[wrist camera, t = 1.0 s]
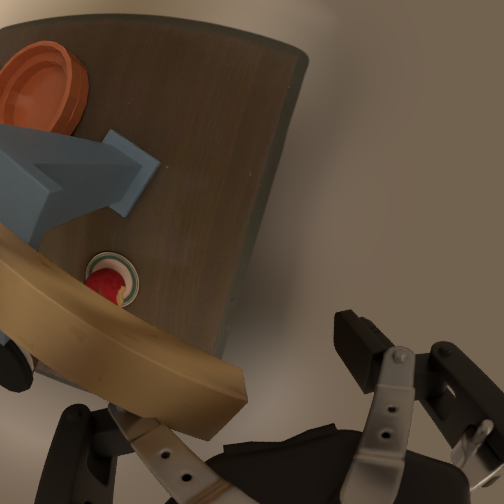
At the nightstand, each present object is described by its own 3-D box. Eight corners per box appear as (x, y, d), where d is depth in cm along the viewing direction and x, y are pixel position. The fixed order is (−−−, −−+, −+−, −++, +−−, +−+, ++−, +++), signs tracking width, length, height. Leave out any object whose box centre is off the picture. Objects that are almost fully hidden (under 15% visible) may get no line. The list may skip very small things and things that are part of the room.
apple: (122, 241, 34) (105, 255, 28) (150, 293, 37) (140, 316, 31) (78, 265, 34) (57, 282, 28) (105, 313, 37) (90, 336, 30)
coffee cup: (9, 332, 35) (-24, 368, 23) (14, 283, 33) (-28, 316, 22) (56, 362, 38) (29, 406, 26) (64, 317, 36) (29, 360, 24)
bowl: (31, 52, 24) (12, 40, 18) (109, 60, 27) (93, 44, 22) (-5, 147, 27) (-28, 147, 21) (65, 170, 30) (42, 171, 25)
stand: (174, 171, 33) (57, 176, 6) (139, 224, 34) (2, 354, 7) (103, 123, 30) (-67, 66, 3) (71, 175, 31) (-108, 208, 4)
